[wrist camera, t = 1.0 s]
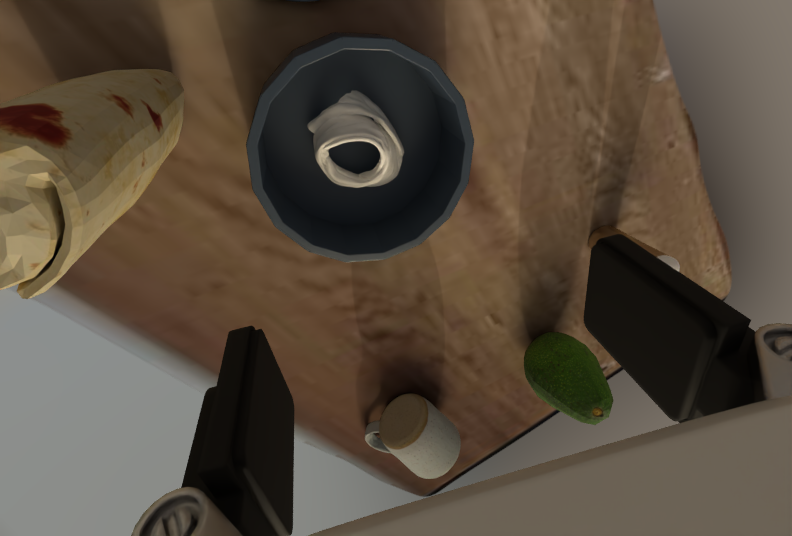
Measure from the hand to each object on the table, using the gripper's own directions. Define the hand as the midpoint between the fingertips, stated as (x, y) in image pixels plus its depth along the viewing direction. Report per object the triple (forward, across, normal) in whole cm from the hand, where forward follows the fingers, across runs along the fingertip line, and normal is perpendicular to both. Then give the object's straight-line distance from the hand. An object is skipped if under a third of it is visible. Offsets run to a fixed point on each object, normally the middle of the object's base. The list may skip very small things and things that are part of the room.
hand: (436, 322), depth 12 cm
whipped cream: (+26, 0, +2) cm, 26 cm away
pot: (+26, 0, +2) cm, 26 cm away
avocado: (+27, -18, +31) cm, 44 cm away
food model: (+26, +15, -4) cm, 30 cm away
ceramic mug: (+27, +1, +37) cm, 46 cm away
